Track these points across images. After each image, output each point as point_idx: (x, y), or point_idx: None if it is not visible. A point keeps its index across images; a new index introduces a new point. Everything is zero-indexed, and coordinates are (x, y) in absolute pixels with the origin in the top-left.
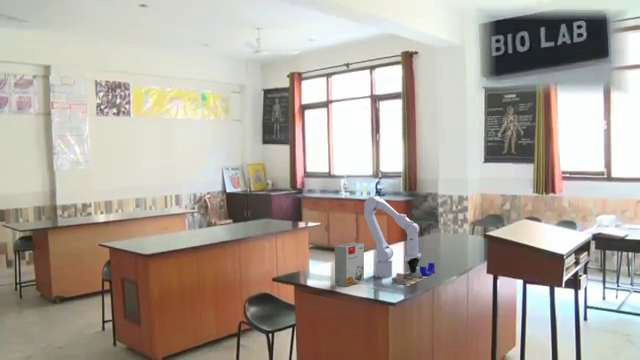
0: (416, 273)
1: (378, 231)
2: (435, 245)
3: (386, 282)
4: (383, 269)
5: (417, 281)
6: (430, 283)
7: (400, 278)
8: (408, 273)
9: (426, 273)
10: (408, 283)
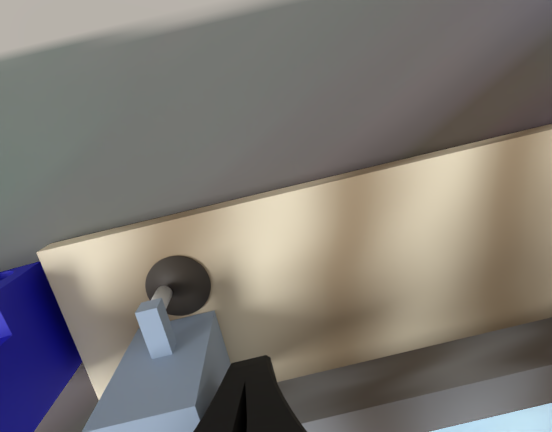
0: (208, 348)
1: None
2: None
3: (548, 420)
4: None
5: (357, 177)
6: (216, 51)
7: None
8: None
9: (8, 309)
10: (526, 186)
